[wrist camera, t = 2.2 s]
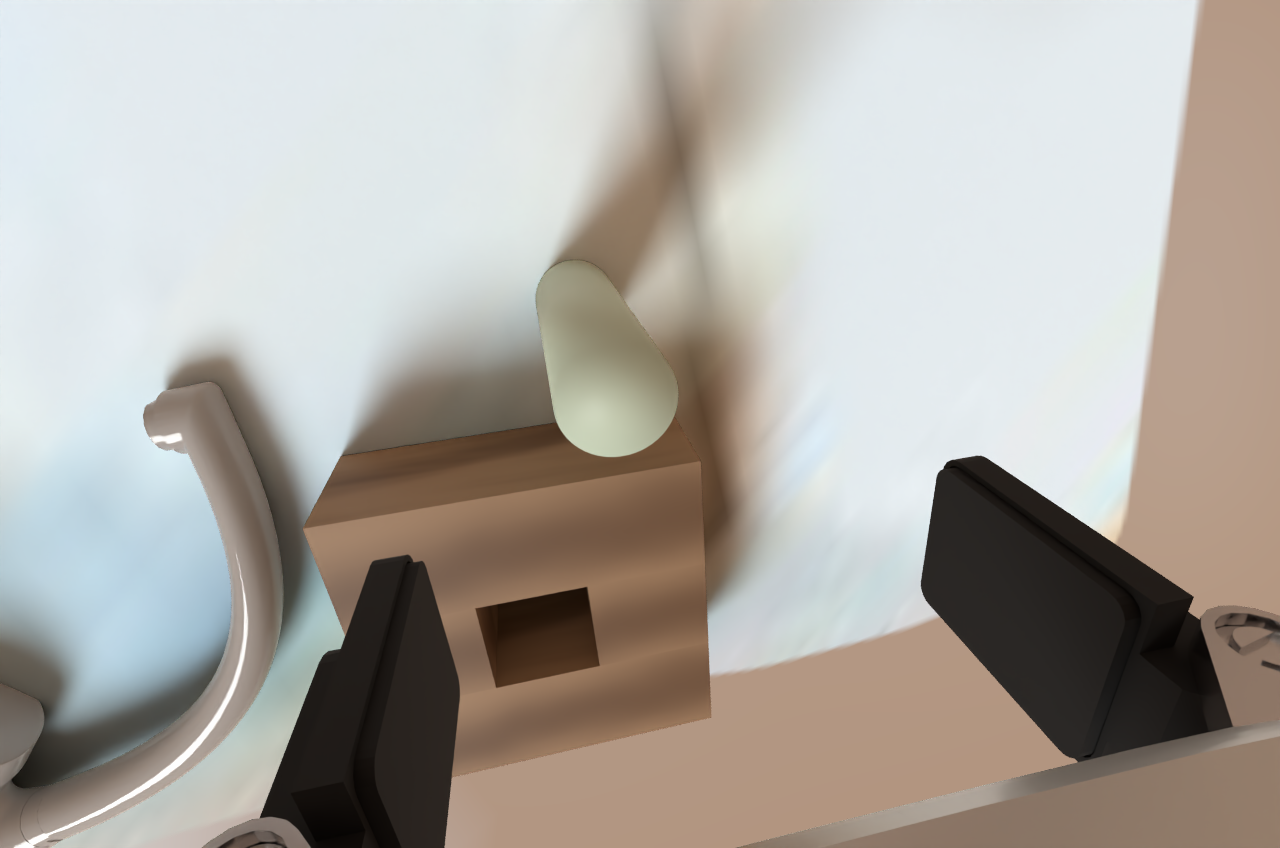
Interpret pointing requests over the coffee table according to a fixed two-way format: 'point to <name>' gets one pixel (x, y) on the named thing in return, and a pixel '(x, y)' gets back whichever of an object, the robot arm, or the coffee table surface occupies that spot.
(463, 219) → the coffee table surface
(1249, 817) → the robot arm
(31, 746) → the faucet
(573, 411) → the peg
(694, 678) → the socket block
